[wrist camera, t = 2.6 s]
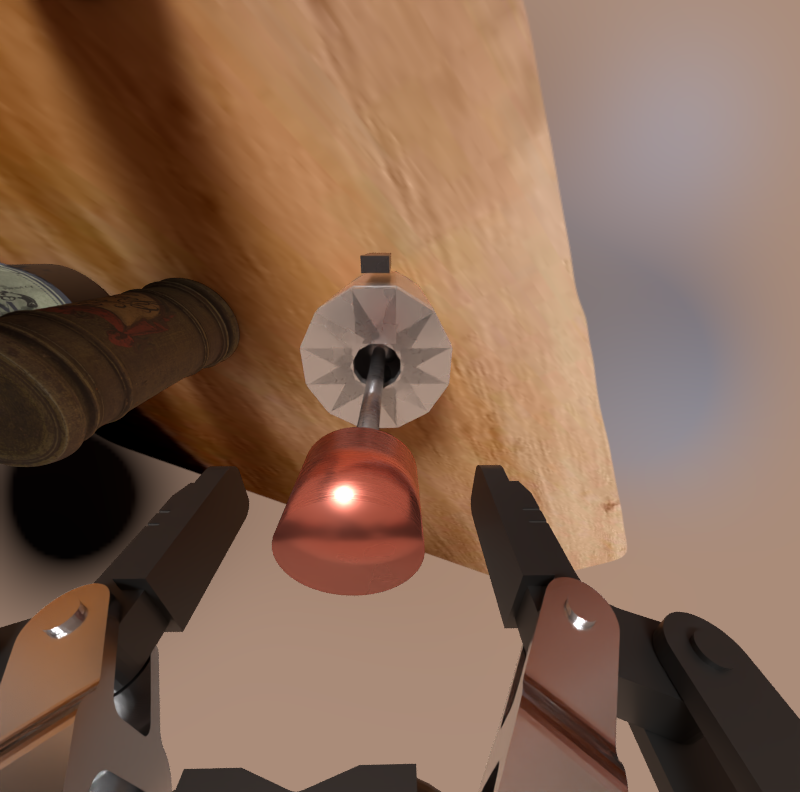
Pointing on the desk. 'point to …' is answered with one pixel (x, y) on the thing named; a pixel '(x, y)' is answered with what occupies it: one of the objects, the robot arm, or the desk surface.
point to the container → (101, 362)
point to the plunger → (355, 501)
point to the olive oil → (43, 287)
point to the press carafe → (377, 324)
